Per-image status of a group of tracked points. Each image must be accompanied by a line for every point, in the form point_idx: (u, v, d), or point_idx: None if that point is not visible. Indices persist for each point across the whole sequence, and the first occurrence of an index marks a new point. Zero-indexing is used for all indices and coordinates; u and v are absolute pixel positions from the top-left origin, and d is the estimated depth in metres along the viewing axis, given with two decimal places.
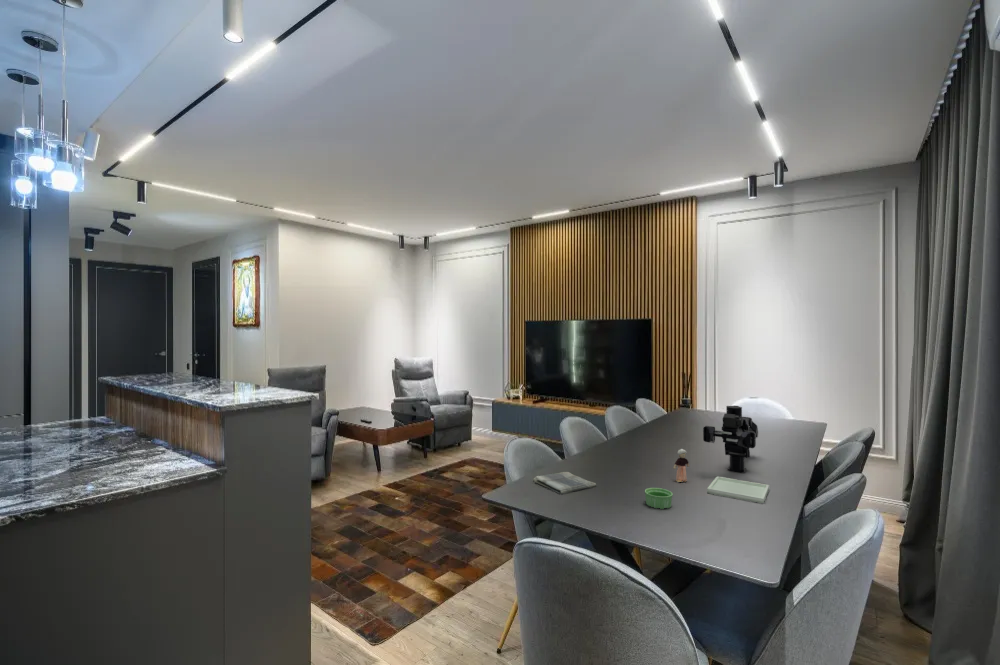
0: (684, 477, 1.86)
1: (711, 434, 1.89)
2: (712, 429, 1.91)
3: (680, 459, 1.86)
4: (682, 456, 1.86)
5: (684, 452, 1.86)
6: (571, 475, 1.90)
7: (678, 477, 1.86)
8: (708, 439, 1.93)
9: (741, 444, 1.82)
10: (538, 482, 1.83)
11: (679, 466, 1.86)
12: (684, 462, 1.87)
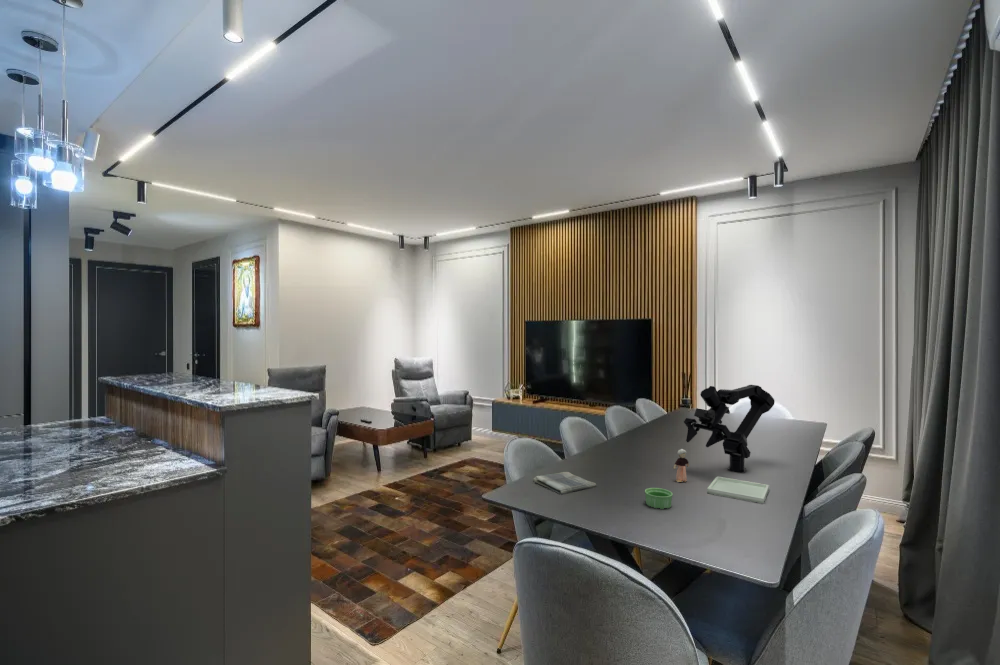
0: (684, 477, 1.86)
1: (688, 432, 1.97)
2: (689, 425, 1.97)
3: (680, 459, 1.86)
4: (682, 456, 1.86)
5: (684, 452, 1.86)
6: (571, 475, 1.90)
7: (678, 477, 1.86)
8: None
9: (712, 443, 1.87)
10: (538, 482, 1.83)
11: (679, 466, 1.86)
12: (684, 462, 1.87)
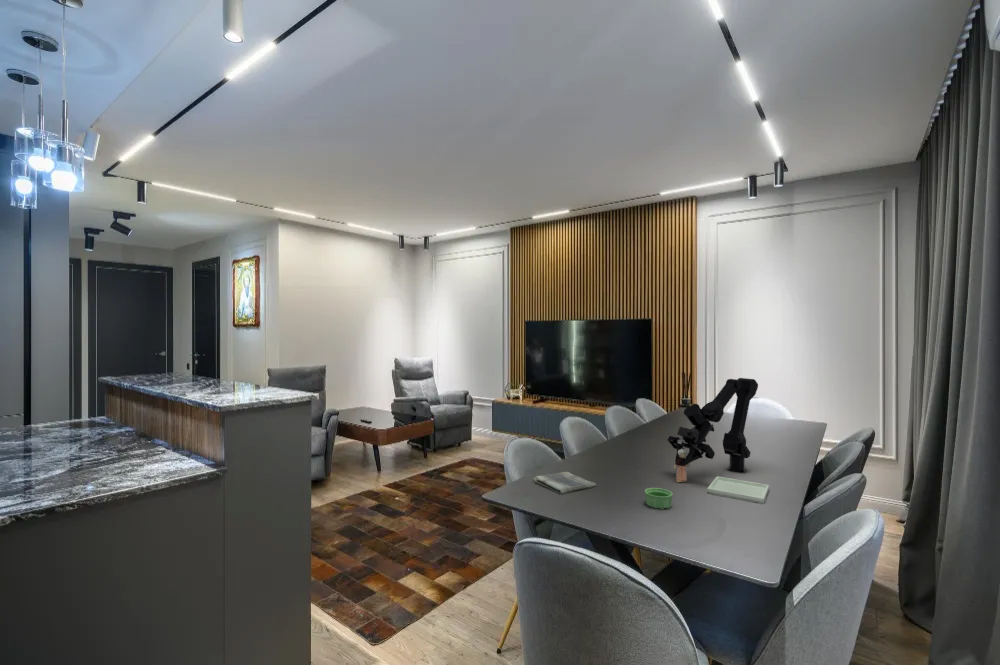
0: (684, 477, 1.86)
1: (677, 453, 1.90)
2: (678, 445, 1.90)
3: (680, 459, 1.86)
4: (682, 456, 1.86)
5: (684, 452, 1.86)
6: (571, 475, 1.90)
7: (678, 477, 1.86)
8: None
9: (689, 461, 1.86)
10: (538, 482, 1.83)
11: (679, 466, 1.86)
12: None
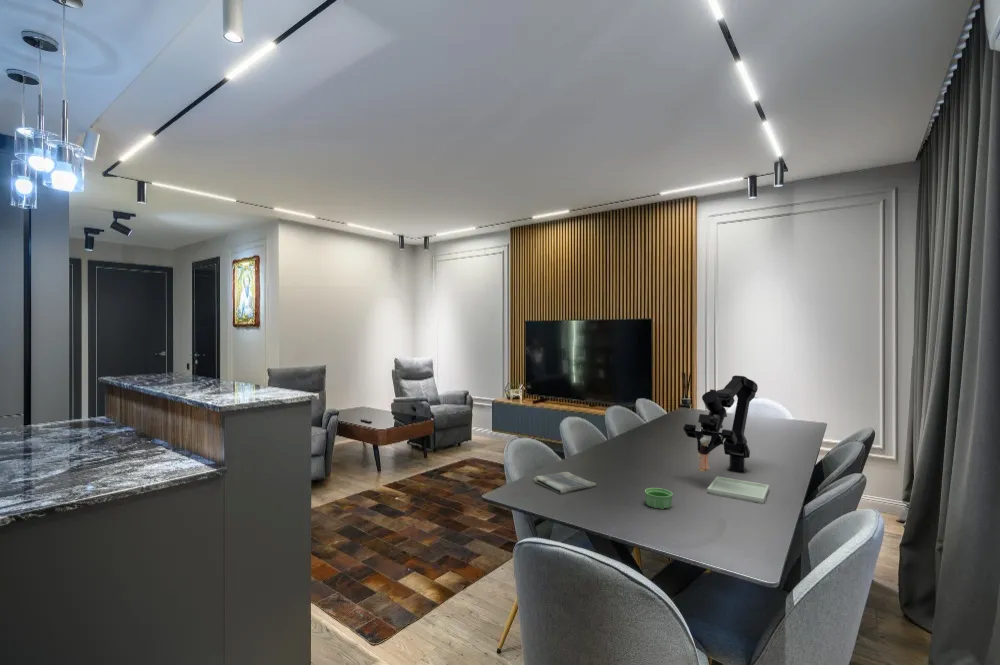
0: (707, 466, 1.80)
1: (698, 441, 1.83)
2: (699, 433, 1.84)
3: (704, 447, 1.80)
4: (706, 444, 1.80)
5: (708, 440, 1.80)
6: (571, 475, 1.90)
7: (701, 466, 1.80)
8: None
9: (712, 449, 1.80)
10: (538, 482, 1.83)
11: (702, 455, 1.80)
12: None
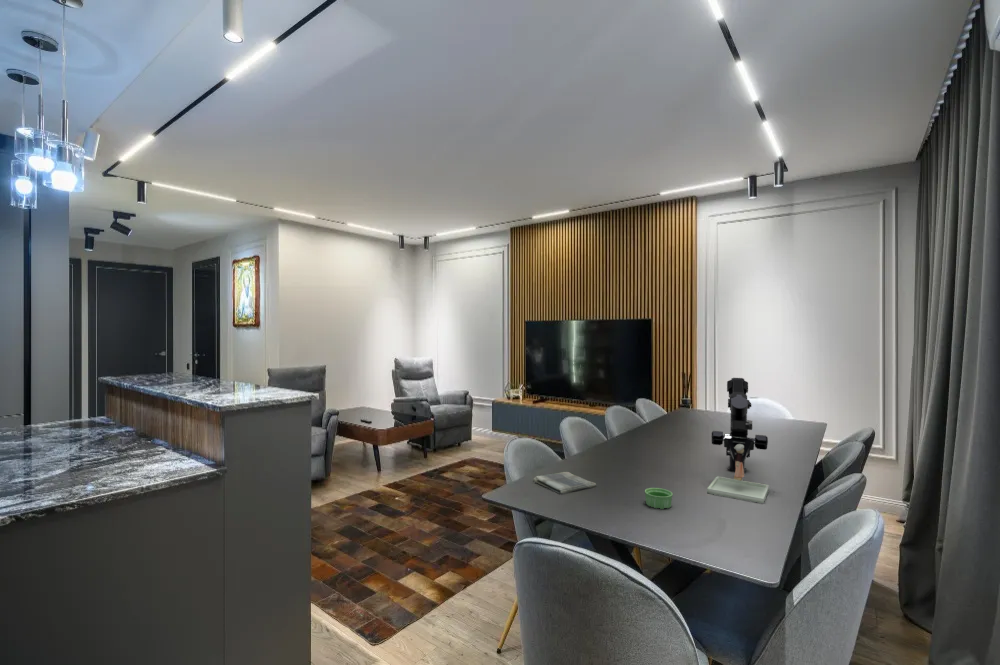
0: (743, 473, 1.75)
1: (732, 448, 1.77)
2: (731, 440, 1.78)
3: (740, 455, 1.75)
4: (742, 451, 1.75)
5: (743, 447, 1.75)
6: (571, 475, 1.90)
7: (738, 474, 1.74)
8: (726, 446, 1.82)
9: (746, 455, 1.76)
10: (538, 482, 1.83)
11: (739, 462, 1.75)
12: None
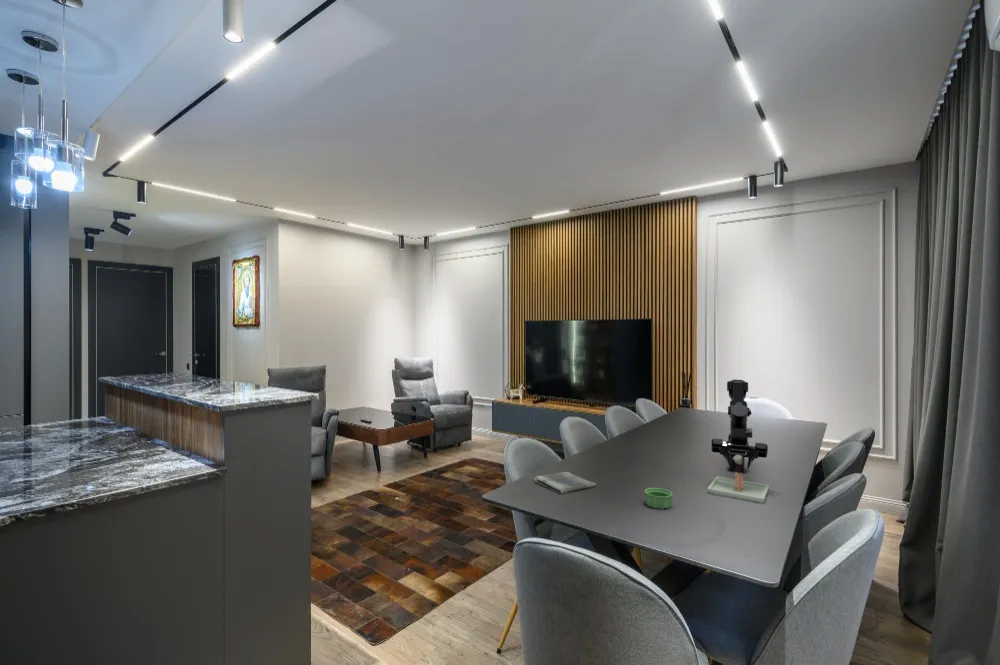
0: (743, 484, 1.75)
1: (727, 456, 1.78)
2: (727, 447, 1.79)
3: (739, 466, 1.75)
4: (741, 462, 1.75)
5: (742, 457, 1.76)
6: (571, 475, 1.90)
7: (738, 485, 1.74)
8: (722, 453, 1.82)
9: (750, 464, 1.75)
10: (538, 482, 1.83)
11: (738, 473, 1.75)
12: None
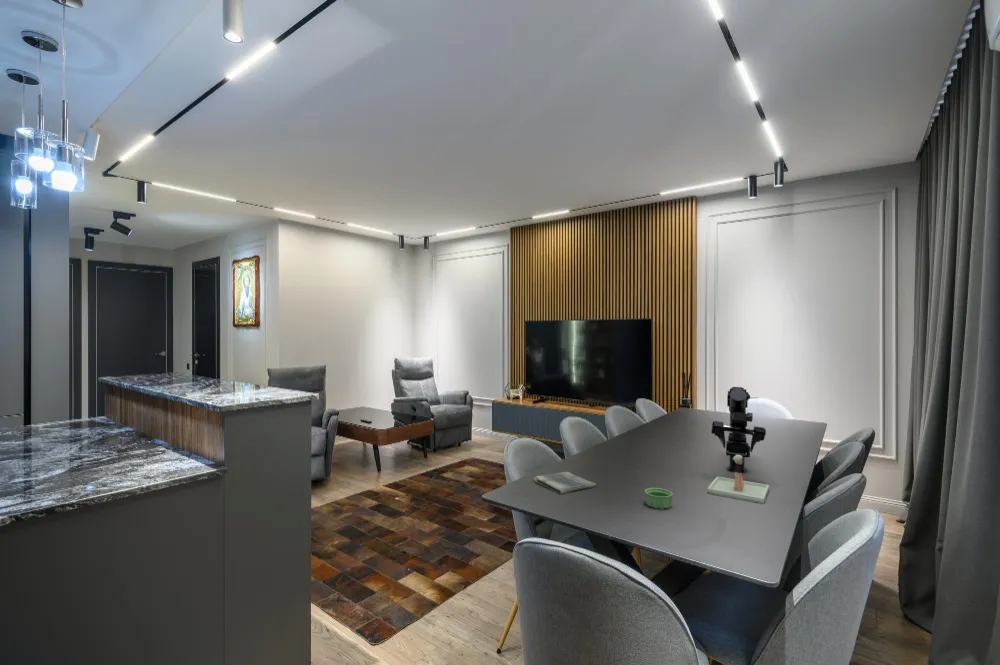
0: (743, 484, 1.75)
1: (723, 437, 1.87)
2: (722, 429, 1.88)
3: (739, 466, 1.75)
4: (741, 462, 1.75)
5: (742, 458, 1.76)
6: (571, 475, 1.90)
7: (738, 485, 1.75)
8: (717, 434, 1.91)
9: (753, 447, 1.84)
10: (538, 482, 1.83)
11: (738, 473, 1.75)
12: None
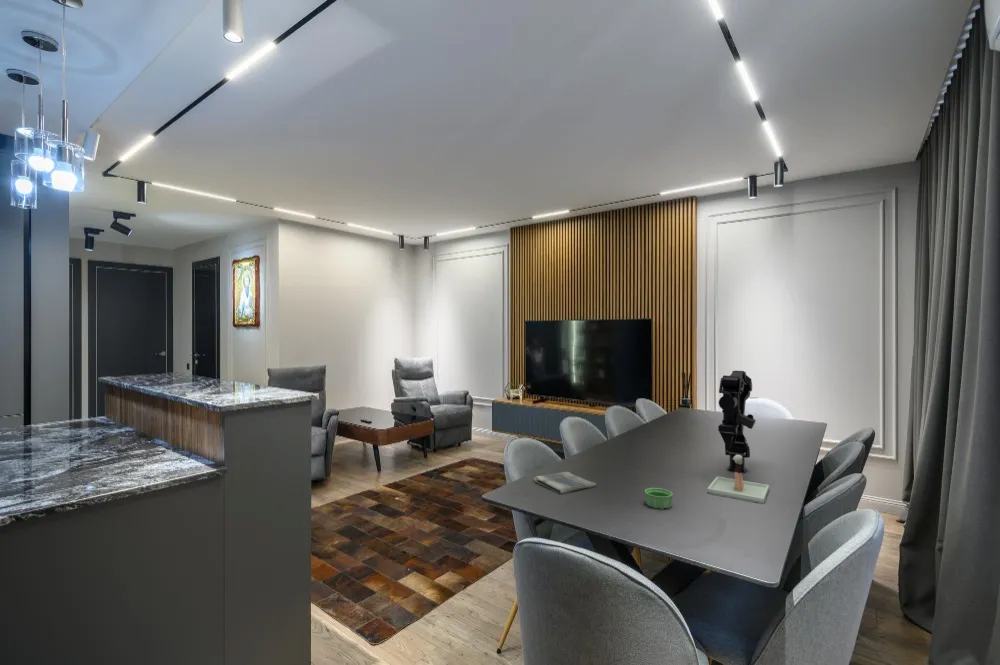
0: (743, 484, 1.75)
1: (731, 440, 1.85)
2: None
3: (739, 466, 1.75)
4: (741, 462, 1.75)
5: (742, 458, 1.76)
6: (571, 475, 1.90)
7: (738, 485, 1.74)
8: (722, 433, 1.85)
9: None
10: (538, 482, 1.83)
11: (738, 473, 1.75)
12: None
